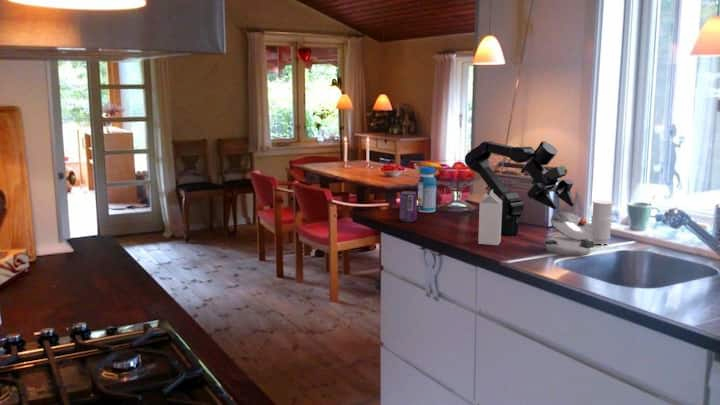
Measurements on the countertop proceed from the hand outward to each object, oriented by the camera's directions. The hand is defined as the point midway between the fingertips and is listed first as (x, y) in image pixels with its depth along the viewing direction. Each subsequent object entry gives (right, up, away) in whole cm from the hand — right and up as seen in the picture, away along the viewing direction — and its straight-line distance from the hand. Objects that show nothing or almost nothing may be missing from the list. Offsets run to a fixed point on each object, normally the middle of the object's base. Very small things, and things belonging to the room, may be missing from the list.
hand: (564, 207), depth 222 cm
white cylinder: (+16, -13, +9) cm, 22 cm away
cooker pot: (+1, -15, -3) cm, 15 cm away
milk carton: (-24, -13, +9) cm, 29 cm away
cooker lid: (+1, -7, -4) cm, 8 cm away
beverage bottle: (-40, -2, +69) cm, 80 cm away
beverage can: (-50, -6, +48) cm, 70 cm away
